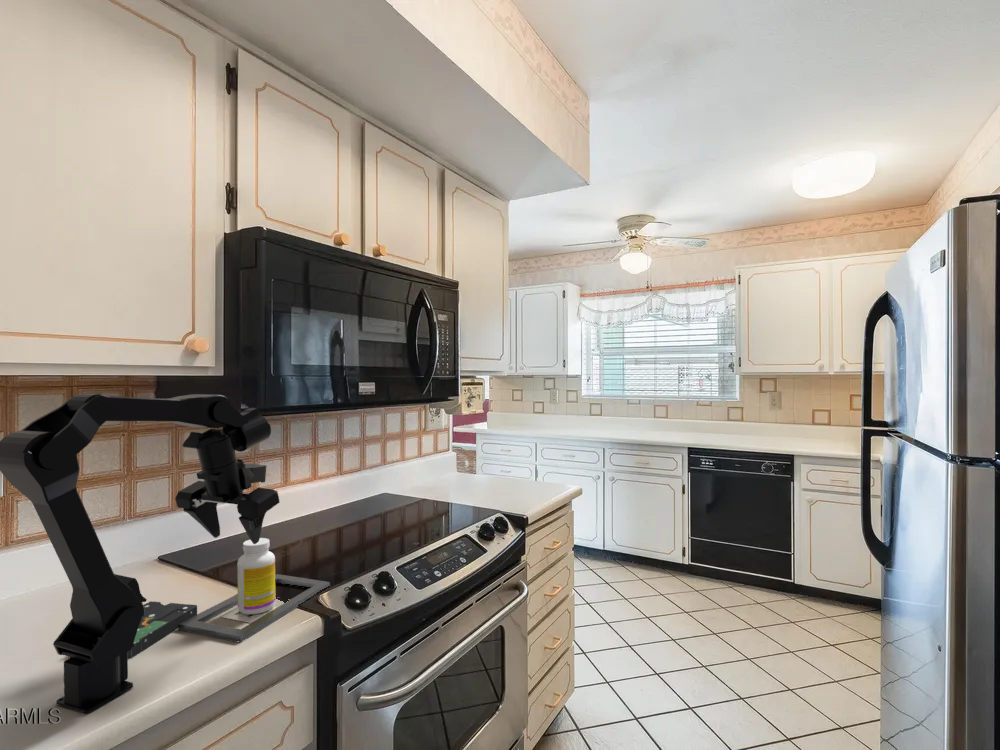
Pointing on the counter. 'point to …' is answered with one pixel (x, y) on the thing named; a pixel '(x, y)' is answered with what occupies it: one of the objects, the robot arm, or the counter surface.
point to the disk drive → (159, 623)
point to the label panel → (256, 620)
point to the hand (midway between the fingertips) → (236, 539)
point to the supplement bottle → (256, 578)
